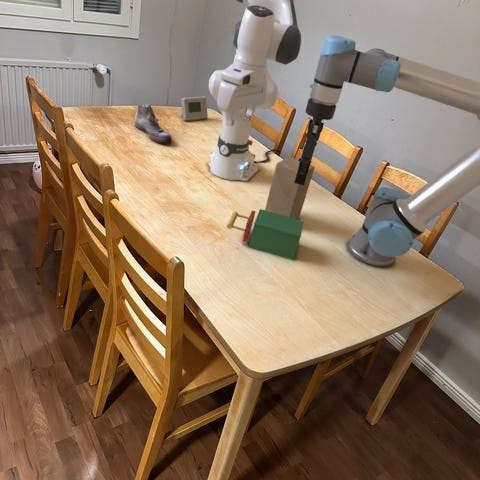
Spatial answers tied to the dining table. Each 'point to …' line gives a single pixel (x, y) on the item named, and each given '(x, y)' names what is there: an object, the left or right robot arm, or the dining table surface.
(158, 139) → the shoe
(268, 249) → the cabinet
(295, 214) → the wooden block
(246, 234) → the drawer
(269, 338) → the dining table surface
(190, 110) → the digital clock
